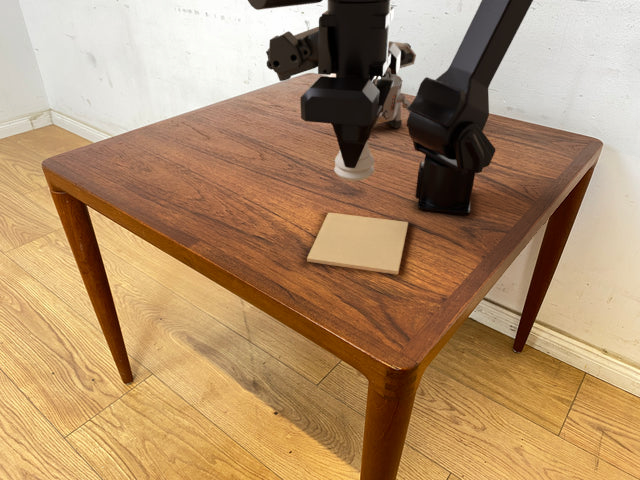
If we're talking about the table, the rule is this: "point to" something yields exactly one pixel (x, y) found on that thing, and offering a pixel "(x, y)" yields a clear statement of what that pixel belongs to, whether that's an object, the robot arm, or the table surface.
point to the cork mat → (360, 243)
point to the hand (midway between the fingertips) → (354, 158)
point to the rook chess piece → (362, 168)
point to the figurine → (396, 89)
